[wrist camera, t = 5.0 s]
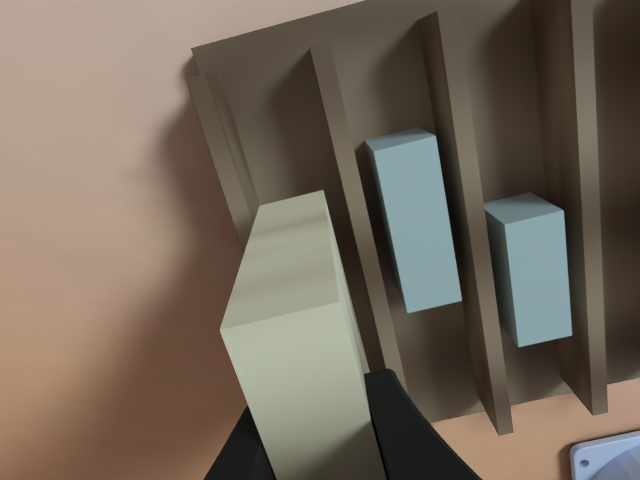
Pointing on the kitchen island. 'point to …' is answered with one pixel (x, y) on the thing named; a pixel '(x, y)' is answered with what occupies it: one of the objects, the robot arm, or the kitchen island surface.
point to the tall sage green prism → (301, 347)
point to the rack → (452, 172)
